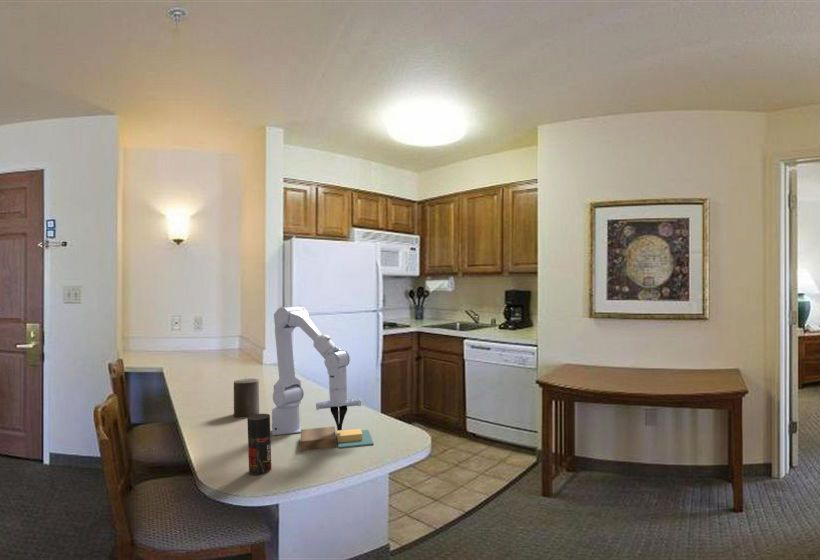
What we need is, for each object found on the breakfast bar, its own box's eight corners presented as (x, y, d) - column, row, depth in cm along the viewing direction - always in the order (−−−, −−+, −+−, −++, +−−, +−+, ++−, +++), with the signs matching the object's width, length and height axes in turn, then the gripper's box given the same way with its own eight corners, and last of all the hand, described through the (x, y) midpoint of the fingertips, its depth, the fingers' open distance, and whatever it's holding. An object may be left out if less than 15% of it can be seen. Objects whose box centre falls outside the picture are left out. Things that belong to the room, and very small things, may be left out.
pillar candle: (239, 419, 177) (238, 380, 177) (230, 414, 184) (229, 377, 184) (263, 414, 183) (263, 377, 183) (253, 409, 191) (253, 373, 191)
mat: (338, 448, 142) (338, 446, 142) (336, 434, 155) (336, 432, 155) (373, 444, 144) (373, 443, 144) (368, 431, 158) (368, 429, 158)
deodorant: (252, 467, 129) (250, 414, 129) (273, 465, 130) (271, 413, 130) (246, 475, 123) (244, 420, 123) (268, 474, 124) (267, 419, 124)
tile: (337, 442, 146) (337, 436, 146) (336, 436, 151) (336, 430, 151) (362, 440, 147) (362, 433, 147) (360, 434, 153) (360, 428, 153)
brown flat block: (300, 451, 140) (300, 441, 140) (301, 438, 152) (301, 429, 152) (336, 447, 143) (336, 438, 143) (334, 435, 154) (334, 426, 154)
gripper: (315, 392, 144) (316, 435, 143) (361, 388, 146) (362, 431, 146) (315, 387, 150) (316, 428, 150) (359, 384, 153) (360, 424, 153)
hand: (339, 429), depth 149 cm, fingers closed
